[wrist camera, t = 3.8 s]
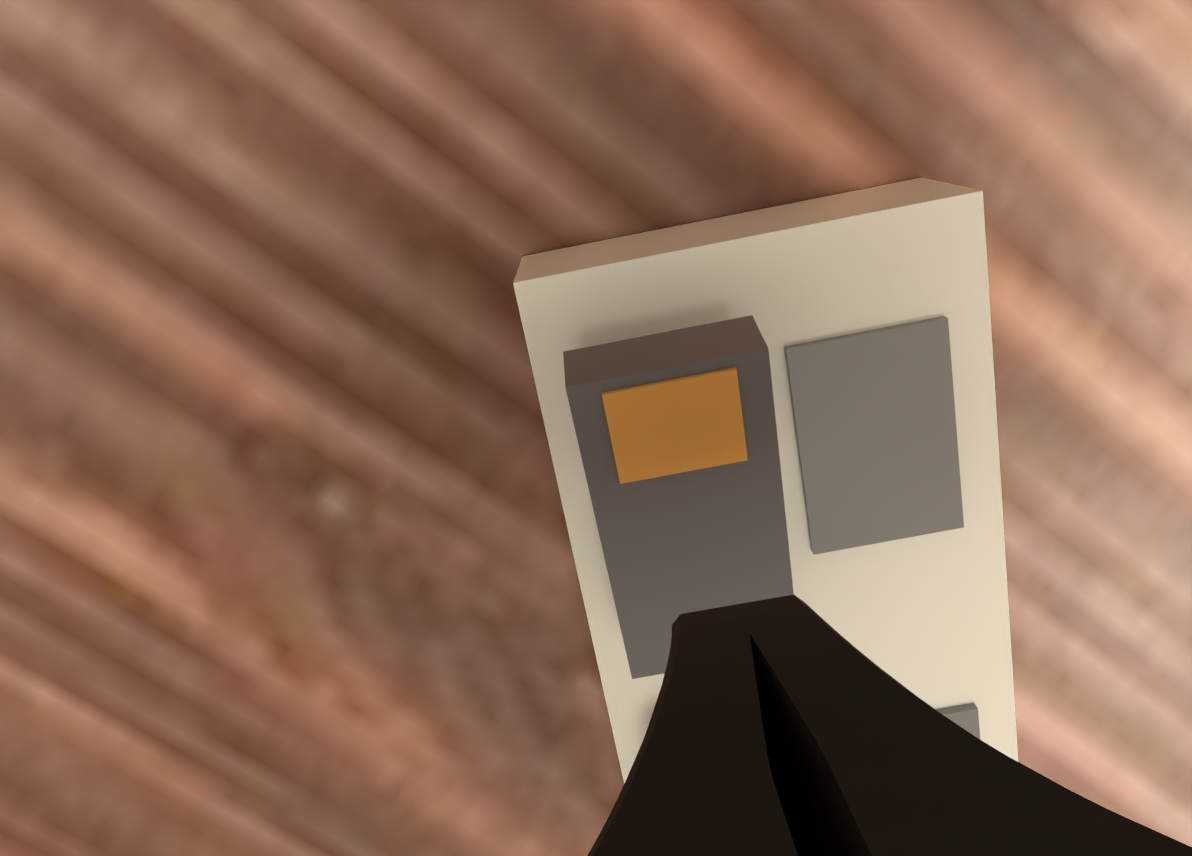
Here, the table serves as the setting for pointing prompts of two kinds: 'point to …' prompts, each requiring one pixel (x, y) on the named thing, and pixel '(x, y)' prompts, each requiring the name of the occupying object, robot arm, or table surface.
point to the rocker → (681, 475)
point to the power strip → (824, 423)
